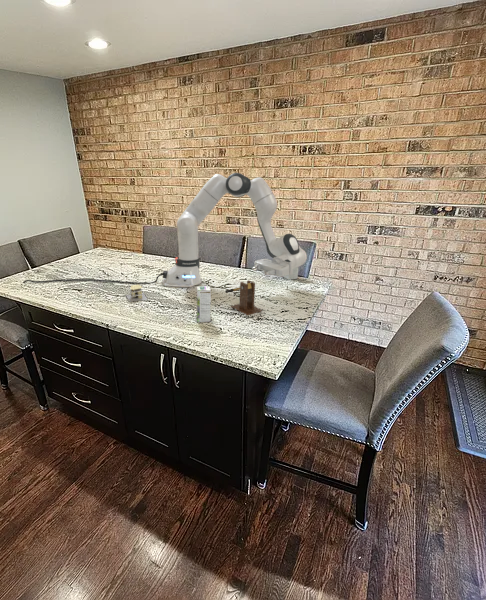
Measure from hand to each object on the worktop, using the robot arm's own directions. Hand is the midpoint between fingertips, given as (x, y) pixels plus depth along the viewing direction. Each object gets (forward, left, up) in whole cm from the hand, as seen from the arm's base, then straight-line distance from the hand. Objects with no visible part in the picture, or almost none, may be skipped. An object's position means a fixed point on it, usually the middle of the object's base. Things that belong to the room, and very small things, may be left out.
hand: (259, 271), depth 165 cm
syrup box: (-28, -24, -14) cm, 40 cm away
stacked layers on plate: (-61, +5, -14) cm, 63 cm away
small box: (+26, +33, -14) cm, 44 cm away
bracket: (-8, -16, -14) cm, 23 cm away
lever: (-10, -12, -5) cm, 17 cm away
